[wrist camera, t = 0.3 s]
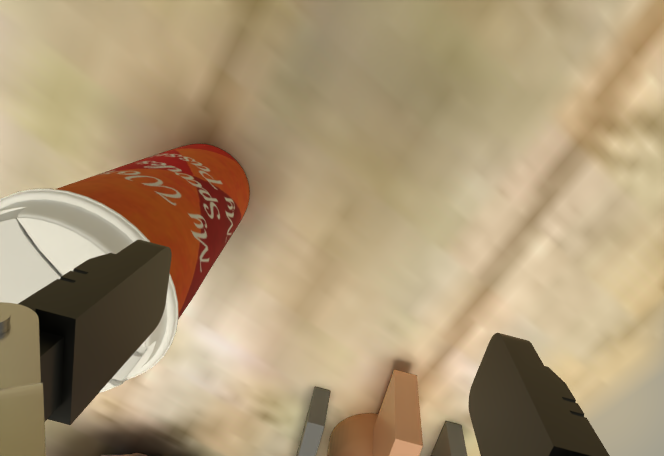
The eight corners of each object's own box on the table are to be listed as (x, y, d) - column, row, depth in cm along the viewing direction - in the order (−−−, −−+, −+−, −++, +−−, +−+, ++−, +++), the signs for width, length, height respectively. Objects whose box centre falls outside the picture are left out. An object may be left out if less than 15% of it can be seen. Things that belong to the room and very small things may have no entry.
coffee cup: (292, 180, 29) (204, 305, 15) (224, 268, 32) (98, 441, 18) (181, 95, 28) (-26, 145, 14) (121, 195, 31) (-99, 320, 17)
